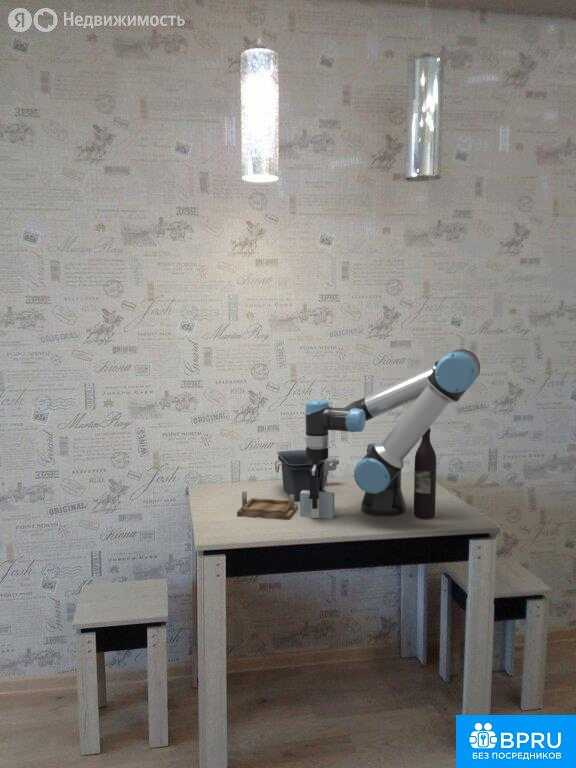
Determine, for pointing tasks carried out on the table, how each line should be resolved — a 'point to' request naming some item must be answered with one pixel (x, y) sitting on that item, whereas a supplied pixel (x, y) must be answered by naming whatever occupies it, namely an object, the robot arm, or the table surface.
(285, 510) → the brown wooden shallow tray
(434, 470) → the wine bottle
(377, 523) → the table surface
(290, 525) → the table surface
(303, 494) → the pale blue rounded block
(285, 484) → the storage bin
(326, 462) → the mechanical component
